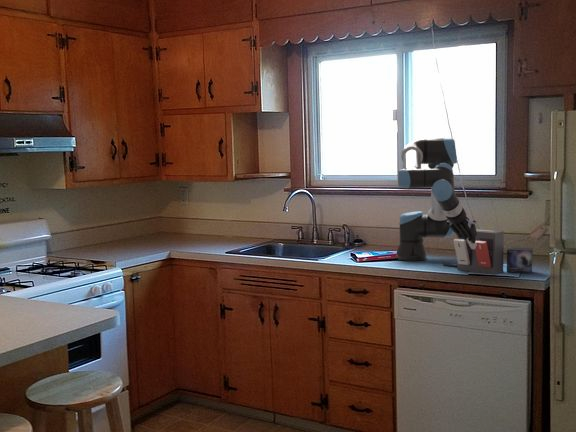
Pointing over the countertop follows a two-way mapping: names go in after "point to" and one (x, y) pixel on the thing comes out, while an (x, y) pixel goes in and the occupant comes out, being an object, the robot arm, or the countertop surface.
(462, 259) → the rocker ivory
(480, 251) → the rocker red
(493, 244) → the power unit
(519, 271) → the small box
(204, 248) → the countertop surface
